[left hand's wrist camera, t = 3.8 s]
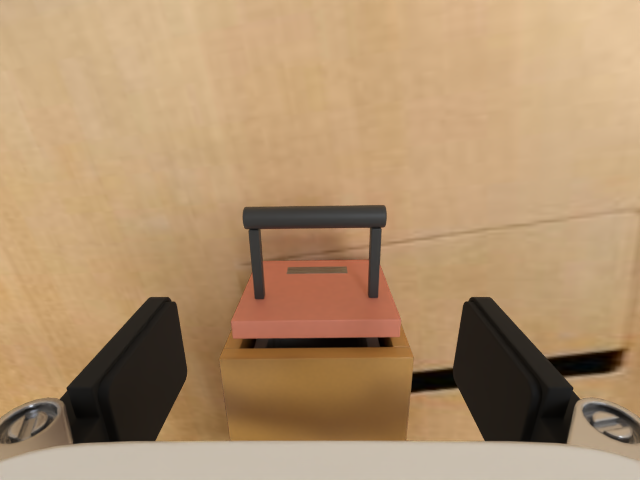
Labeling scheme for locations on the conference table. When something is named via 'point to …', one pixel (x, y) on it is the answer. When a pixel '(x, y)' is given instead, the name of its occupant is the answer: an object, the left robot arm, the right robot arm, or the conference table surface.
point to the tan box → (317, 391)
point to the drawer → (316, 286)
